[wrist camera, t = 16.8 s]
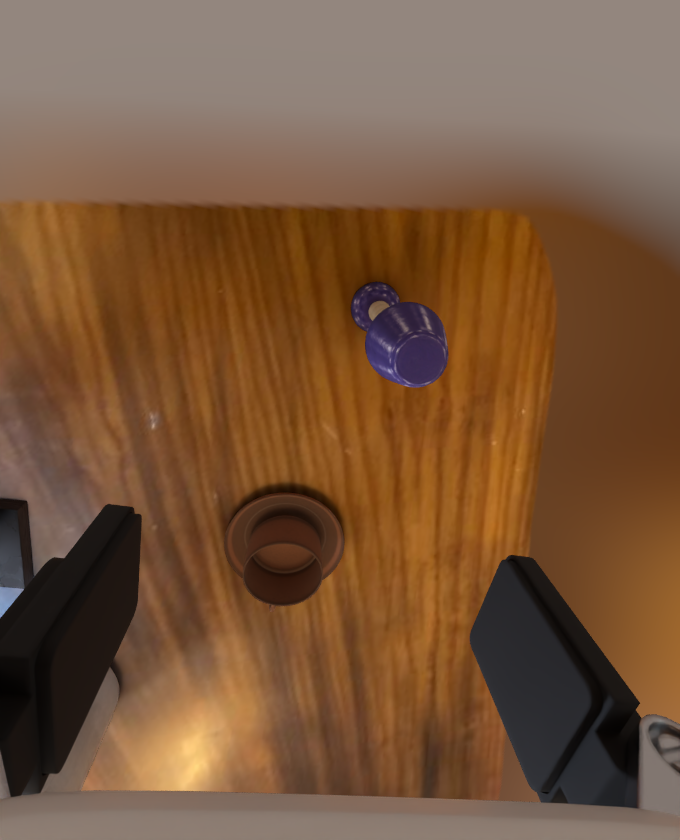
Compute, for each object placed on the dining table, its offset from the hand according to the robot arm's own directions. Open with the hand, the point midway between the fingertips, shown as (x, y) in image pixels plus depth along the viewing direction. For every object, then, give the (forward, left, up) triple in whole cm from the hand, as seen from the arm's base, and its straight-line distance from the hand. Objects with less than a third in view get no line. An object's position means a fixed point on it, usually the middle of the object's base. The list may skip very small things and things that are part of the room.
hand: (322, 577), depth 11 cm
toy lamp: (-4, +5, -29) cm, 29 cm away
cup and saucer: (+20, +1, -29) cm, 35 cm away
